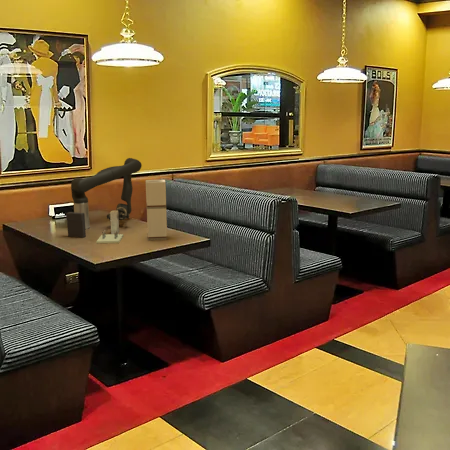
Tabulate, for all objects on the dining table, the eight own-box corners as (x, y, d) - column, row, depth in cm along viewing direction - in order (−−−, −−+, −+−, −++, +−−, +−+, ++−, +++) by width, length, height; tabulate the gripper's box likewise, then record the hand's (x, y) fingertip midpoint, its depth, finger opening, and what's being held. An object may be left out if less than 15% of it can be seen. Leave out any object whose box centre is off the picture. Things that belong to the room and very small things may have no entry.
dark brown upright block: (86, 236, 339) (85, 212, 336) (82, 238, 335) (81, 214, 332) (71, 235, 343) (70, 211, 340) (67, 236, 339) (65, 212, 336)
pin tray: (96, 243, 322) (96, 234, 321) (102, 236, 340) (101, 228, 338) (118, 243, 322) (118, 234, 321) (123, 236, 340) (122, 227, 339)
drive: (111, 234, 346) (110, 212, 343) (112, 231, 351) (111, 210, 348) (117, 234, 346) (116, 212, 343) (119, 231, 352) (118, 210, 349)
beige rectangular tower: (166, 235, 341) (164, 179, 333) (167, 239, 330) (165, 182, 323) (147, 236, 339) (145, 180, 332) (147, 240, 329) (146, 182, 321)
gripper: (109, 208, 369) (105, 212, 353) (130, 207, 369) (127, 212, 354) (110, 219, 370) (105, 224, 355) (131, 218, 371) (127, 223, 355)
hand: (116, 218), depth 354 cm, fingers open, 8 cm apart
